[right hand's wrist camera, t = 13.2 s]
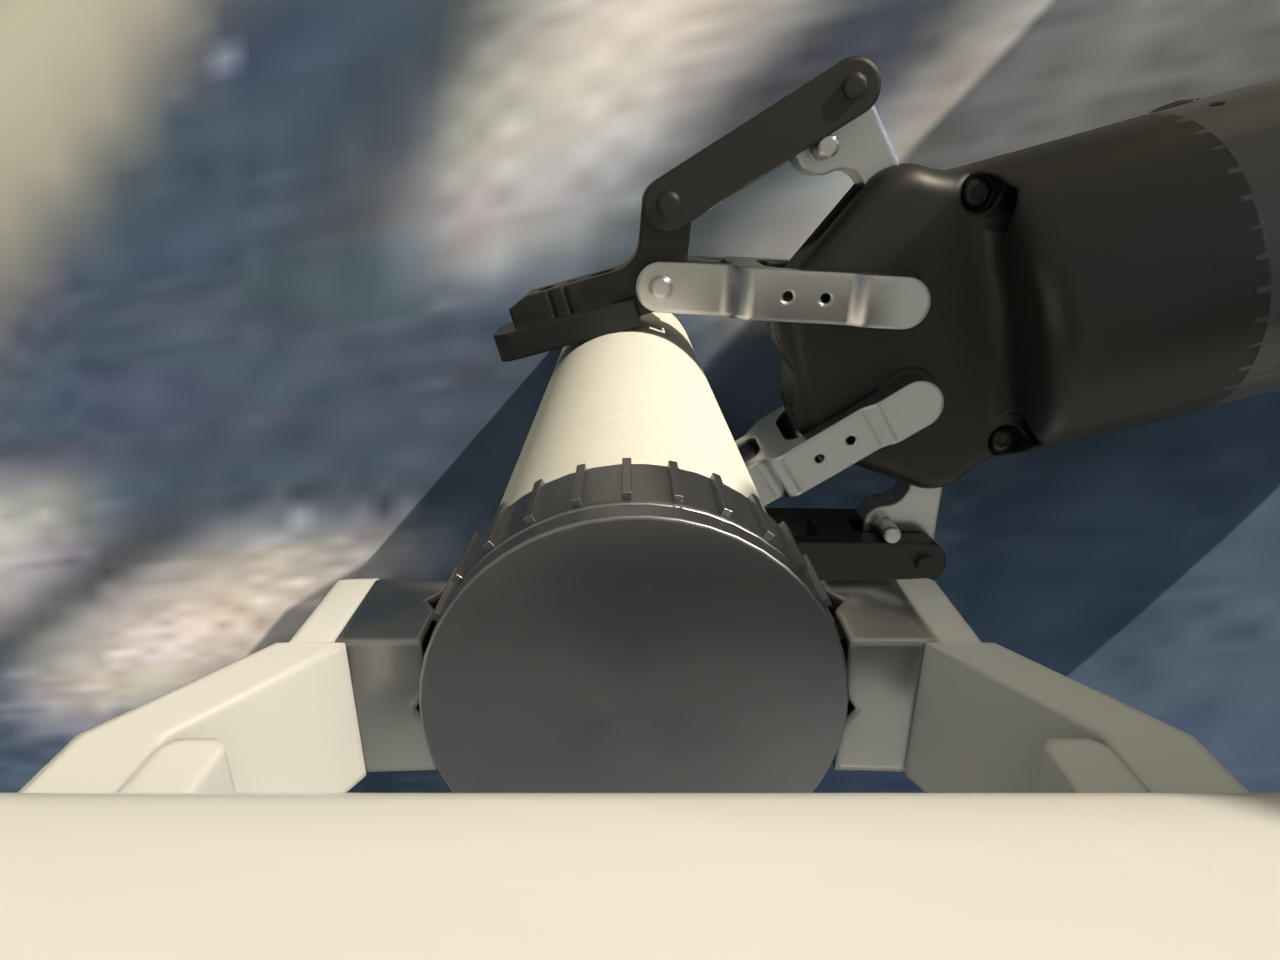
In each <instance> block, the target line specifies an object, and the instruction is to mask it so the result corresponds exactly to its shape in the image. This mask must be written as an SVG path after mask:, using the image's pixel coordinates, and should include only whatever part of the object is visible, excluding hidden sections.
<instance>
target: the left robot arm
mask: <svg viewBox="0 0 1280 960" xmlns="http://www.w3.org/2000/svg"><path fill="white" fill-rule="evenodd" d="M880 89H881V78H880V74H879V71H878V69H877V67H876V66H875V65H874V64H873V63H872V62H871V61H870V60H869V59H867V58H864V57H860V56H853V57H849V58H846V59H844V60H842V61H841V62H839V63H837V64H836V65H834V66H833V67H831V68H830V69H828V70H826V71H825V72H823V73H822V74H820V75H818V76H817V77H815V78H814V79H812V80H811V81H809V82H808V83H806V84H804V85H803V86H801V87H800V88H798V89H797V90H795V91H794V92H792V93H790V94H789V95H787V96H786V97H784V98H783V99H781V100H779V101H778V102H776V103H775V104H773V105H772V106H770V107H769V108H767V109H765V110H764V111H762V112H761V113H759V114H758V115H756V116H755V117H753V118H751V119H750V120H748V121H747V122H745V123H744V124H742V125H741V126H739V127H737V128H736V129H734V130H733V131H731V132H730V133H728V134H727V135H725V136H723V137H722V138H720V139H719V140H717V141H716V142H714V143H712V144H711V145H709V146H708V147H706V148H705V149H703V150H702V151H700V152H698V153H697V154H695V155H694V156H692V157H691V158H689V159H688V160H686V161H684V162H683V163H681V164H680V165H678V166H677V167H675V168H674V169H672V170H670V171H669V172H667V173H666V174H664V175H663V176H661V177H660V178H658V179H656V180H655V181H653V182H652V183H651V184H649V186H648V187H647V188H646V190H645V191H644V194H643V197H642V208H641V220H640V232H639V242H638V246H637V249H636V251H635V253H634V254H633V255H632V257H631V258H630V259H629V260H628V261H626V262H625V263H623V264H622V265H619V266H616V267H613V268H609V269H605V270H602V271H598V272H595V273H591V274H588V275H584V276H580V277H577V278H573V279H570V280H566V281H563V282H559V283H555V284H552V285H548V286H545V287H541V288H537V289H534V290H532V291H531V292H529V293H528V294H527V295H526V296H524V297H523V298H522V299H521V300H519V301H518V302H517V303H516V304H515V305H514V306H513V307H512V308H511V309H509V311H510V314H511V317H512V320H513V322H511V323H508V324H506V325H503V326H502V327H501V328H500V329H499V330H498V331H497V332H496V333H495V334H494V335H493V336H494V339H495V342H496V345H497V348H498V351H499V354H500V357H501V360H502V361H503V362H507V361H513V360H517V359H521V358H524V357H528V356H532V355H535V354H539V353H543V352H546V351H550V350H554V349H557V348H561V347H565V346H568V345H572V344H576V343H580V342H583V341H587V340H591V339H594V338H597V337H600V336H604V335H607V334H612V333H616V332H620V331H624V330H627V329H631V328H635V327H638V326H641V316H642V315H645V314H649V313H653V312H658V313H676V314H696V315H716V316H728V317H732V318H736V319H742V320H754V321H766V322H767V327H768V332H769V335H770V337H771V339H772V341H773V343H774V344H775V346H776V348H777V350H778V352H779V354H780V356H781V359H782V365H781V380H780V390H781V394H782V399H783V404H784V405H782V406H781V407H779V408H777V409H776V410H774V411H773V412H771V413H769V414H768V415H766V416H764V417H763V418H761V419H759V420H758V421H757V422H755V423H754V424H753V425H752V426H751V427H750V429H749V431H748V432H747V433H746V434H745V435H743V436H742V437H740V438H739V439H737V440H735V443H736V445H737V448H738V450H739V452H740V454H741V457H742V459H743V461H744V463H745V465H746V468H747V470H748V472H749V474H750V477H751V479H752V481H753V483H754V486H755V488H756V490H757V492H758V494H759V497H760V499H761V501H762V503H763V506H766V505H767V504H769V503H771V502H773V501H774V500H776V499H778V498H780V497H794V496H797V495H800V494H802V493H804V492H806V491H808V490H809V489H811V488H813V487H814V486H816V485H818V484H820V483H821V482H823V481H825V480H827V479H828V478H830V477H832V476H833V475H835V474H837V473H839V472H840V471H842V470H844V469H846V468H847V467H849V466H851V465H853V464H856V465H858V466H861V467H864V468H867V469H869V470H872V471H875V472H877V473H880V474H883V475H885V476H888V477H891V478H893V479H896V480H897V482H896V484H895V485H894V486H893V487H892V488H891V489H889V490H888V491H886V492H884V493H880V494H873V495H869V496H866V497H864V498H863V499H862V500H861V501H860V503H859V504H858V506H857V508H856V509H809V508H765V510H766V512H767V514H768V515H769V516H770V517H771V518H772V519H773V520H774V521H775V522H776V523H777V524H780V523H781V522H782V521H784V522H785V523H786V524H787V525H788V527H789V529H790V531H791V533H792V535H793V537H794V539H795V541H796V543H797V545H798V547H799V549H800V551H801V553H802V555H804V554H807V556H808V558H809V560H810V562H811V564H812V565H813V567H814V569H815V571H816V573H817V575H818V577H819V579H820V581H825V580H867V579H895V580H898V579H920V578H928V579H931V580H933V579H935V578H936V577H938V576H939V575H940V574H941V572H942V571H943V569H944V567H945V564H946V557H945V554H944V552H943V551H942V549H941V548H940V547H939V546H938V545H937V543H936V542H935V539H934V534H935V528H936V522H937V516H938V510H939V504H940V498H941V492H942V487H943V486H946V485H949V484H951V483H953V482H955V481H956V480H958V479H959V478H961V477H962V476H963V475H964V474H966V473H967V472H968V471H969V470H971V469H972V468H973V467H975V466H976V465H978V464H980V463H981V462H983V461H985V460H987V459H989V458H992V457H995V456H999V455H1005V454H1012V453H1021V452H1028V451H1035V450H1041V449H1045V448H1049V447H1053V446H1057V445H1061V444H1065V443H1069V442H1074V441H1078V440H1082V439H1086V438H1090V437H1094V436H1098V435H1102V434H1106V433H1110V432H1114V431H1118V430H1122V429H1126V428H1130V427H1134V426H1138V425H1142V424H1147V423H1151V422H1155V421H1159V420H1163V419H1167V418H1171V417H1175V416H1179V415H1183V414H1187V413H1191V412H1195V411H1199V410H1203V409H1207V408H1210V407H1214V406H1219V405H1223V404H1227V403H1231V402H1235V401H1239V400H1244V399H1248V398H1252V397H1256V396H1260V395H1264V394H1269V393H1273V392H1277V391H1280V80H1277V81H1271V82H1265V83H1261V84H1257V85H1252V86H1248V87H1244V88H1240V89H1236V90H1233V91H1229V92H1226V93H1223V94H1219V95H1215V96H1211V97H1208V98H1204V99H1191V100H1180V101H1177V102H1173V103H1170V104H1168V105H1165V106H1162V107H1160V108H1158V109H1155V110H1153V111H1152V112H1150V113H1149V114H1148V115H1143V116H1140V117H1136V118H1133V119H1129V120H1125V121H1122V122H1118V123H1115V124H1111V125H1108V126H1104V127H1101V128H1097V129H1094V130H1090V131H1087V132H1083V133H1080V134H1076V135H1072V136H1069V137H1065V138H1062V139H1058V140H1055V141H1051V142H1047V143H1044V144H1040V145H1037V146H1033V147H1029V148H1026V149H1022V150H1019V151H1015V152H1012V153H1008V154H1004V155H1001V156H997V157H994V158H990V159H987V160H983V161H979V162H976V163H972V164H969V165H965V166H962V167H958V168H954V169H949V170H944V171H943V170H935V169H930V168H927V167H923V166H920V165H916V164H909V163H908V164H899V161H898V159H897V157H896V154H895V152H894V150H893V148H892V145H891V143H890V141H889V139H888V136H887V134H886V132H885V129H884V127H883V125H882V123H881V120H880V118H879V116H878V113H877V111H876V109H875V107H874V104H875V102H876V100H877V98H878V96H879V93H880ZM788 160H790V162H791V164H792V165H793V167H794V168H795V169H796V170H797V171H798V172H799V173H801V174H804V175H808V176H815V175H824V174H828V173H830V172H832V171H835V170H838V171H842V172H844V173H846V174H847V175H848V176H850V178H851V179H852V180H853V182H854V185H853V186H852V187H851V188H850V190H849V191H848V192H847V193H846V194H845V196H844V197H843V198H842V199H841V200H840V201H839V203H838V204H837V205H836V206H835V207H834V209H833V210H832V211H831V212H830V213H829V214H828V216H827V217H826V218H825V219H824V220H823V222H822V223H821V224H820V225H819V226H818V227H817V229H816V230H815V231H814V232H813V233H812V235H811V236H810V237H809V238H808V239H807V240H806V242H805V243H804V244H803V245H802V246H801V248H800V249H799V250H798V251H797V252H796V253H795V255H794V256H793V257H792V258H791V259H771V258H752V257H706V256H687V254H688V245H689V235H690V226H691V221H692V220H694V219H696V218H697V217H699V216H700V215H702V214H704V213H705V212H707V211H708V210H710V209H712V208H713V207H715V206H716V205H718V204H720V203H721V202H723V201H724V200H726V199H728V198H729V197H731V196H732V195H734V194H736V193H737V192H739V191H740V190H742V189H744V188H745V187H747V186H748V185H750V184H752V183H753V182H755V181H756V180H758V179H760V178H761V177H763V176H764V175H766V174H768V173H769V172H771V171H772V170H774V169H776V168H777V167H779V166H780V165H782V164H784V163H785V162H787V161H788ZM818 454H819V456H817V455H818ZM816 456H817V457H816Z"/></svg>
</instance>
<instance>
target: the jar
mask: <svg viewBox="0 0 1280 960" xmlns="http://www.w3.org/2000/svg"><path fill="white" fill-rule="evenodd" d="M622 458H631V464H651V465H660V466H667V465H668V461H675V462H677V464H678V469H682V470H686V471H690V472H695V473H698V474H701V475H703V476H706V477H708V478H710V477H711V475H712V473H716V474H718V475H720V476H721V479H722V482H723V484H725V485H727V486H728V487H730V488H732V489H734V490H736V491H738V492H739V493H741V494H743V495H744V496H746V497H747V498H748V497H749V496H750V494H751V493H753V494H754V495H755V496H757V497H758V499H759V501H760V503H761V505H762V508H763V510H764V511H765V512H766V510H765V508H764V506H763V503H762V501H761V499H760V497H759V494H758V492H757V490H756V488H755V486H754V483H753V481H752V479H751V477H750V474H749V472H748V470H747V468H746V465H745V463H744V461H743V459H742V457H741V454H740V452H739V450H738V448H737V445H736V443H735V441H734V439H733V437H732V434H731V432H730V430H729V428H728V425H727V423H726V421H725V419H724V416H723V414H722V412H721V410H720V408H719V405H718V403H717V401H716V399H715V396H714V394H713V392H712V390H711V388H710V385H709V383H708V381H707V379H706V376H705V374H704V372H703V370H702V367H701V365H700V363H699V361H698V359H697V356H696V354H695V352H694V350H693V347H692V345H691V343H690V341H689V339H688V336H687V334H686V332H685V330H684V328H683V327H682V325H681V324H680V322H679V321H678V320H677V319H676V317H675V316H674V315H672V314H671V313H658V312H653V313H649V314H645V315H642V316H641V326H638V327H635V328H631V329H627V330H624V331H620V332H616V333H612V334H607V335H604V336H600V337H597V338H594V339H591V340H587V341H583V342H580V343H576V344H572V345H568V346H565V347H563V349H562V351H561V354H560V356H559V359H558V361H557V364H556V366H555V369H554V371H553V374H552V376H551V379H550V381H549V384H548V386H547V389H546V391H545V394H544V396H543V399H542V401H541V404H540V406H539V408H538V411H537V413H536V416H535V418H534V421H533V423H532V426H531V428H530V431H529V433H528V436H527V438H526V441H525V443H524V446H523V448H522V451H521V453H520V456H519V458H518V461H517V463H516V466H515V468H514V471H513V473H512V476H511V478H510V481H509V483H508V486H507V488H506V491H505V493H504V496H503V498H502V501H501V503H500V505H501V504H502V503H504V502H505V503H506V504H507V505H508V506H510V505H512V504H513V503H514V502H516V501H517V500H518V499H520V498H521V497H522V496H524V495H526V494H527V493H529V492H531V491H532V489H533V486H534V483H535V482H536V481H538V480H540V479H543V481H544V483H548V482H550V481H553V480H555V479H558V478H560V477H563V476H565V475H568V474H571V473H575V472H576V467H577V465H580V464H585V465H586V468H587V469H590V468H594V467H602V466H609V465H617V464H622ZM766 513H767V512H766Z"/></svg>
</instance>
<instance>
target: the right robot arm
mask: <svg viewBox="0 0 1280 960" xmlns="http://www.w3.org/2000/svg"><path fill="white" fill-rule="evenodd" d="M447 582H448V580H400V579H381V580H379V579H378V578H369V579H343V580H338V581H337V582H336V583H335V584H334V585H333V587H332V588H331V589H330V590H329V592H328V593H327V594H326V596H325V597H324V598H323V599H322V601H321V602H320V603H319V604H318V606H317V607H316V608H315V610H314V611H313V612H312V613H311V615H310V616H309V617H308V618H307V620H306V621H305V622H304V624H303V625H302V626H301V627H300V629H299V630H298V631H297V632H296V634H295V635H294V636H293V637H292V639H291V640H290V641H289V642H282V643H274V644H272V645H270V646H268V647H266V648H264V649H261V650H259V651H257V652H255V653H253V654H251V655H249V656H246V657H244V658H242V659H240V660H238V661H236V662H233V663H231V664H229V665H227V666H225V667H223V668H221V669H218V670H216V671H214V672H212V673H210V674H208V675H206V676H203V677H201V678H199V679H197V680H195V681H193V682H190V683H188V684H186V685H184V686H182V687H180V688H178V689H175V690H173V691H171V692H169V693H167V694H165V695H163V696H160V697H158V698H156V699H154V700H152V701H150V702H147V703H145V704H143V705H141V706H139V707H137V708H135V709H132V710H130V711H128V712H126V713H124V714H122V715H119V716H117V717H115V718H113V719H111V720H109V721H107V722H104V723H102V724H100V725H98V726H96V727H94V728H92V729H89V730H87V731H85V732H83V733H81V734H79V735H77V736H76V737H75V738H74V739H73V740H72V741H70V742H69V743H68V744H67V745H66V746H65V747H64V748H63V749H62V750H61V751H60V752H59V753H58V754H57V755H56V756H55V757H54V758H53V759H52V760H51V761H50V762H49V763H48V764H47V765H46V766H45V767H43V768H42V769H41V770H40V771H39V772H38V773H37V774H36V775H35V776H34V777H33V778H32V779H31V780H30V781H29V782H28V783H27V784H26V785H25V786H24V787H23V788H22V789H21V790H20V791H19V792H17V793H0V960H1280V793H1250V792H1249V791H1248V790H1247V789H1246V788H1245V787H1244V786H1243V785H1242V784H1240V783H1239V782H1238V781H1237V780H1236V779H1235V778H1234V777H1233V776H1232V775H1231V774H1230V773H1229V772H1228V771H1227V770H1226V769H1225V768H1224V767H1223V766H1222V765H1221V764H1220V763H1219V762H1218V761H1217V760H1216V759H1215V758H1214V757H1213V756H1212V755H1211V754H1210V753H1209V752H1208V751H1207V750H1206V749H1205V748H1204V747H1203V746H1202V745H1201V744H1200V743H1199V742H1198V741H1197V740H1196V739H1195V738H1194V737H1193V736H1191V735H1189V734H1187V733H1185V732H1183V731H1180V730H1178V729H1176V728H1174V727H1172V726H1170V725H1168V724H1166V723H1164V722H1161V721H1159V720H1157V719H1155V718H1153V717H1151V716H1149V715H1147V714H1144V713H1142V712H1140V711H1138V710H1136V709H1134V708H1132V707H1130V706H1127V705H1125V704H1123V703H1121V702H1119V701H1117V700H1115V699H1113V698H1111V697H1108V696H1106V695H1104V694H1102V693H1100V692H1098V691H1096V690H1094V689H1091V688H1089V687H1087V686H1085V685H1083V684H1081V683H1079V682H1077V681H1075V680H1072V679H1070V678H1068V677H1066V676H1064V675H1062V674H1060V673H1058V672H1055V671H1053V670H1051V669H1049V668H1047V667H1045V666H1043V665H1041V664H1038V663H1036V662H1034V661H1032V660H1030V659H1028V658H1026V657H1024V656H1022V655H1019V654H1017V653H1015V652H1013V651H1011V650H1009V649H1007V648H1005V647H1002V646H1000V645H998V644H996V643H989V642H981V641H980V639H979V638H978V637H977V635H976V634H975V633H974V632H973V630H972V629H971V628H970V626H969V625H968V624H967V622H966V621H965V620H964V619H963V617H962V616H961V615H960V613H959V612H958V611H957V609H956V608H955V607H954V606H953V604H952V603H951V602H950V600H949V599H948V598H947V597H946V595H945V594H944V593H943V591H942V590H941V589H940V587H939V586H938V585H937V584H936V582H935V581H933V580H931V579H928V578H920V579H898V580H895V579H867V580H825V581H821V583H822V585H823V587H824V589H825V591H826V593H827V595H828V597H829V599H830V601H831V603H832V605H830V606H828V608H829V610H830V612H831V614H832V616H833V618H834V626H835V628H836V631H837V633H838V635H839V638H840V642H841V644H842V647H843V650H844V654H845V659H846V664H847V669H848V678H849V704H848V713H847V721H846V724H845V728H844V732H843V736H842V739H841V743H840V746H839V748H838V750H837V752H836V755H835V757H834V759H833V765H834V768H835V770H857V771H894V772H905V776H906V777H908V778H909V779H910V780H911V781H912V782H913V783H914V784H916V785H917V786H918V787H919V788H920V789H921V790H922V791H924V792H925V793H347V792H348V791H349V790H350V789H351V788H352V787H354V786H355V785H356V784H357V783H358V782H359V781H360V780H362V779H363V778H364V777H365V776H366V772H377V771H413V770H436V769H437V767H436V764H435V762H434V760H433V758H432V756H431V754H430V751H429V749H428V745H427V742H426V738H425V735H424V731H423V728H422V722H421V715H420V707H419V685H420V675H421V669H422V664H423V659H424V654H425V652H426V649H427V646H428V643H429V641H430V638H431V635H432V632H433V630H434V628H435V625H436V623H437V621H434V620H431V617H432V614H433V612H434V610H435V608H436V605H437V603H438V601H439V599H440V597H441V595H442V592H443V590H444V588H445V586H446V584H447Z"/></svg>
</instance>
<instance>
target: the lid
mask: <svg viewBox="0 0 1280 960" xmlns="http://www.w3.org/2000/svg"><path fill="white" fill-rule="evenodd" d="M830 605H832V603H831V601H830V599H829V597H828V595H827V593H826V591H825V589H824V587H823V585H822V583H821V581H820V579H819V577H818V575H817V573H816V571H815V569H814V567H813V565H812V564H811V562H810V560H809V558H808V556H807V554H804V555H802V553H801V551H800V549H799V547H798V545H797V543H796V541H795V539H794V537H793V535H792V533H791V531H790V529H789V527H788V525H787V524H786V523H785V522H784V521H782V522H781V523H780V524H777V523H776V522H775V521H774V520H773V519H772V518H771V517H770V516H769V515H768V514H767V513H766V512H765V511H764V510H763V508H762V505H761V503H760V501H759V499H758V497H757V496H755V495H754V494H753V493H751V494H750V496H749V497H748V498H747V497H746V496H744V495H743V494H741V493H739V492H738V491H736V490H734V489H732V488H730V487H728V486H727V485H725V484H723V482H722V479H721V476H720V475H718V474H716V473H712V475H711V477H710V478H708V477H706V476H703V475H701V474H698V473H695V472H690V471H686V470H682V469H678V464H677V462H675V461H668V465H667V466H660V465H651V464H631V458H622V464H617V465H609V466H602V467H594V468H590V469H587V468H586V465H585V464H580V465H577V467H576V472H575V473H571V474H568V475H565V476H563V477H560V478H558V479H555V480H553V481H550V482H548V483H544V481H543V479H540V480H538V481H536V482H535V483H534V486H533V489H532V491H531V492H529V493H527V494H526V495H524V496H522V497H521V498H520V499H518V500H517V501H516V502H514V503H513V504H512V505H510V506H508V505H507V504H506V503H505V502H504V503H502V504H501V505H500V506H499V507H498V510H497V512H496V514H495V517H494V519H493V522H492V523H491V524H490V525H489V526H488V527H487V528H486V529H485V530H484V532H483V533H482V534H481V535H479V534H478V533H476V532H474V534H473V535H472V536H471V538H470V540H469V542H468V544H467V547H466V549H465V551H464V553H463V555H462V558H461V560H460V562H459V564H458V566H457V567H454V569H453V571H452V573H451V575H450V577H449V579H448V582H447V584H446V586H445V588H444V590H443V592H442V595H441V597H440V599H439V601H438V603H437V605H436V608H435V610H434V612H433V614H432V617H431V620H434V621H437V623H436V625H435V628H434V630H433V632H432V635H431V638H430V641H429V643H428V646H427V649H426V652H425V654H424V659H423V664H422V669H421V675H420V685H419V707H420V715H421V722H422V728H423V731H424V735H425V738H426V742H427V745H428V749H429V751H430V754H431V756H432V758H433V760H434V762H435V764H436V767H437V769H438V771H439V773H440V774H441V776H442V777H443V779H444V780H445V782H446V783H447V785H448V786H449V788H450V790H451V791H452V792H453V793H813V791H814V790H815V789H816V788H817V786H818V785H819V784H820V782H821V780H822V779H823V777H824V776H825V774H826V772H827V771H828V769H829V767H830V766H831V764H832V762H833V759H834V757H835V755H836V752H837V750H838V748H839V746H840V743H841V739H842V736H843V732H844V728H845V724H846V721H847V713H848V704H849V678H848V669H847V664H846V659H845V654H844V650H843V647H842V644H841V642H840V638H839V635H838V633H837V631H836V628H835V626H834V618H833V616H832V614H831V612H830V610H829V608H828V606H830Z"/></svg>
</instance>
